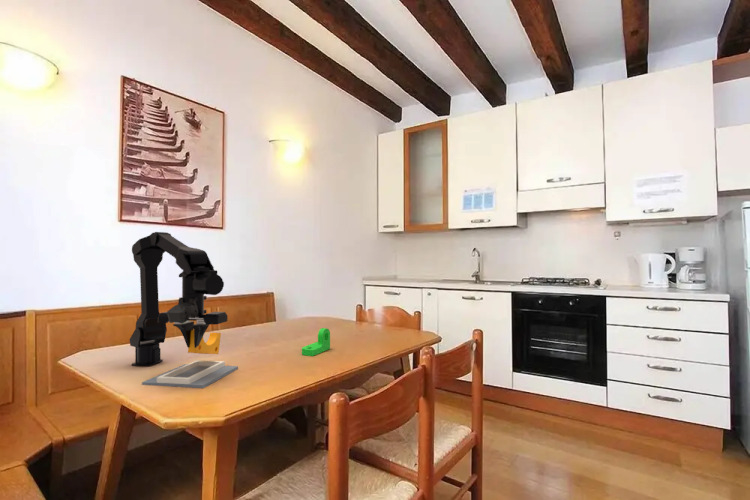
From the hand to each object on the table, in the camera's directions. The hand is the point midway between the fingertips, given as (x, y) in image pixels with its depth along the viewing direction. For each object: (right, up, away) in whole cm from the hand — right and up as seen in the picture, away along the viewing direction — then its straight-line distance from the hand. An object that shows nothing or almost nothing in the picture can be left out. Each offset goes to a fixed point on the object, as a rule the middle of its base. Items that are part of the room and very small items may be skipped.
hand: (192, 347), depth 113 cm
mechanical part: (+31, -9, +30) cm, 44 cm away
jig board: (0, -8, 0) cm, 8 cm away
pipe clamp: (0, -3, +5) cm, 6 cm away
